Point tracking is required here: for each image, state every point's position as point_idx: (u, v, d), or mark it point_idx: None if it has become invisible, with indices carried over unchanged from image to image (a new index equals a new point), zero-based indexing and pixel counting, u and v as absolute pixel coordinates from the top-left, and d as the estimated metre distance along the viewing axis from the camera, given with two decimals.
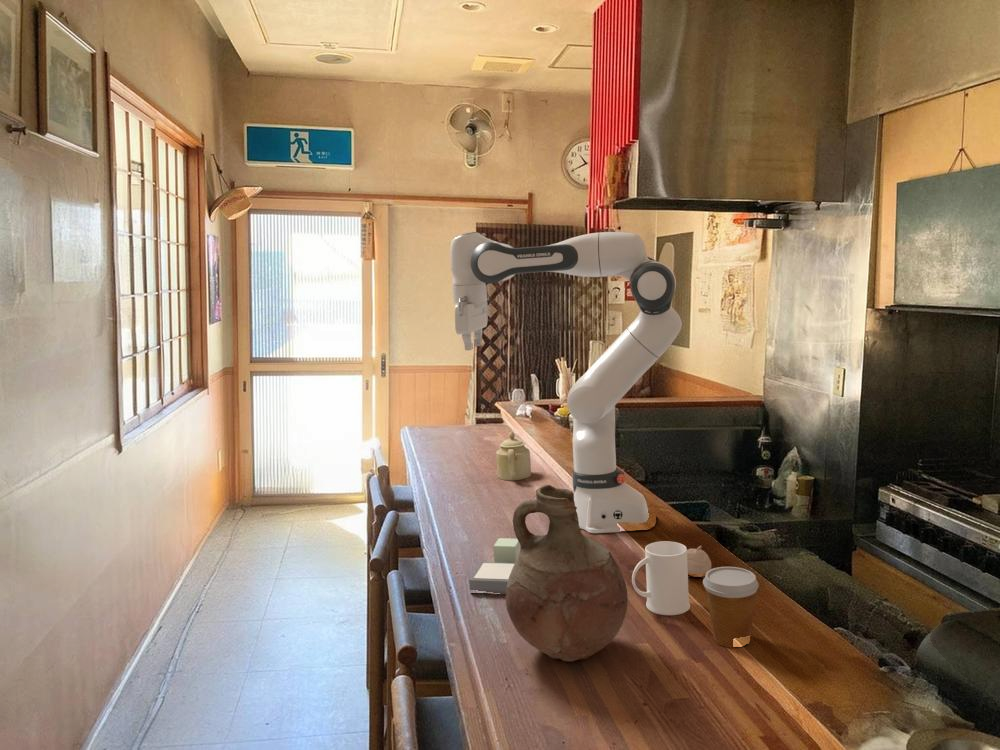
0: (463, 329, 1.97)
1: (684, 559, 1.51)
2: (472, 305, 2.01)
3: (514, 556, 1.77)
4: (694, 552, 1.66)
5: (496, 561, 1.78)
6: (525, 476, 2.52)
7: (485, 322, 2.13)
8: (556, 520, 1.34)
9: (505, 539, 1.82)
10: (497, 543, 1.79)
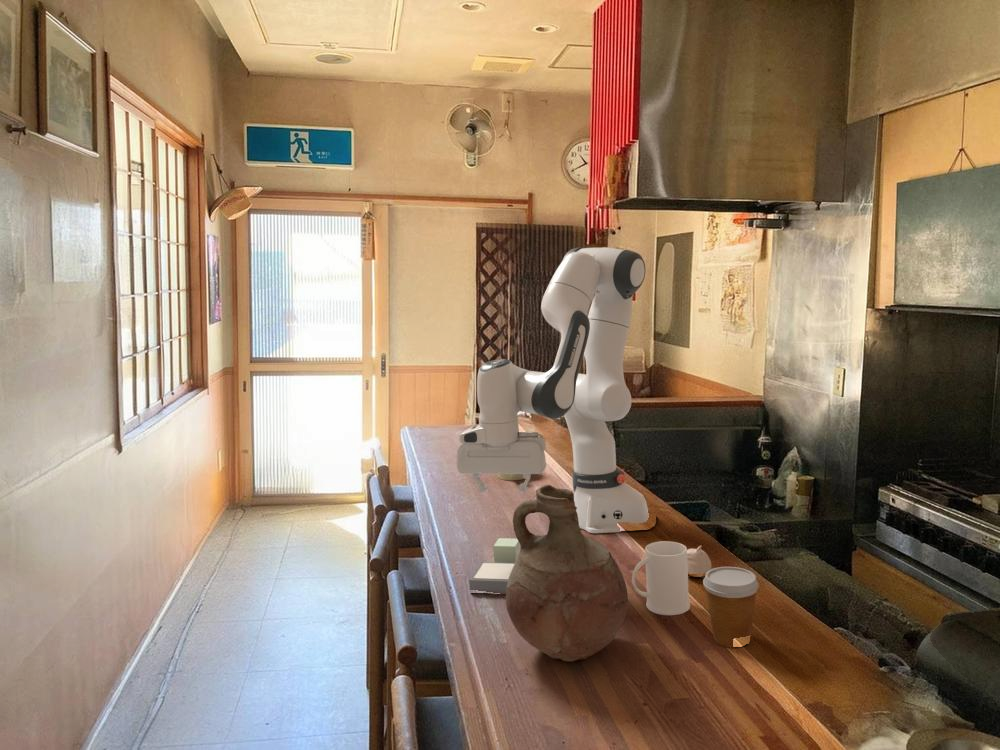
0: (545, 466, 1.75)
1: (684, 559, 1.51)
2: None
3: (514, 556, 1.77)
4: (694, 552, 1.66)
5: (496, 561, 1.78)
6: None
7: None
8: (556, 520, 1.34)
9: (505, 539, 1.82)
10: (497, 543, 1.79)
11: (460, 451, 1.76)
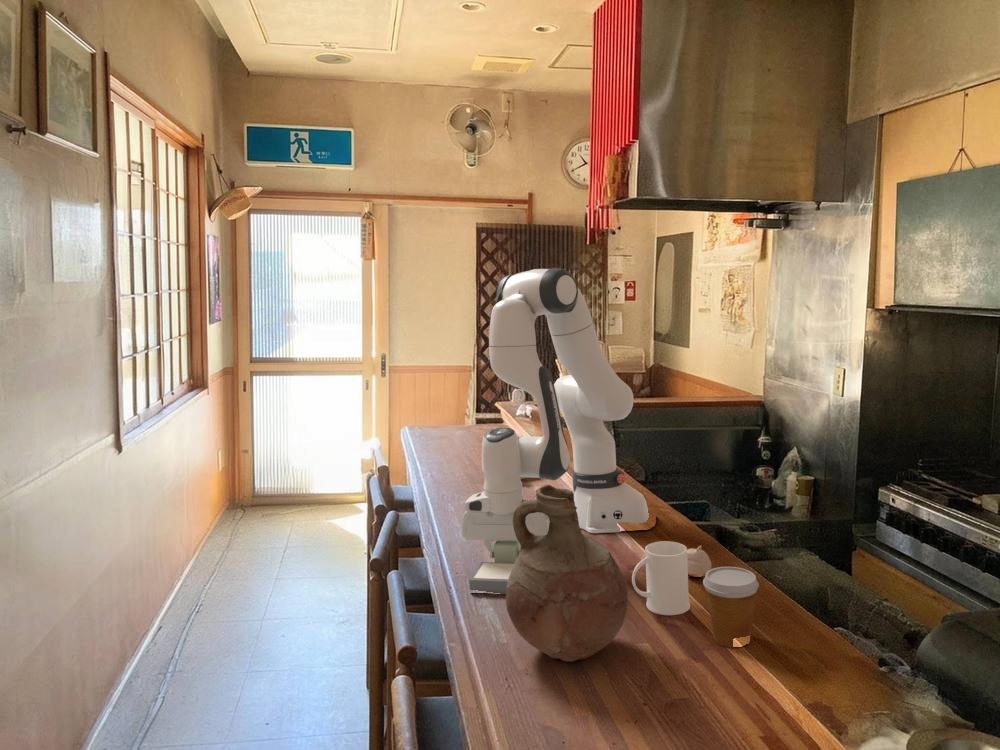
0: None
1: (684, 559, 1.51)
2: None
3: (514, 556, 1.77)
4: (694, 552, 1.66)
5: (496, 561, 1.78)
6: None
7: None
8: (556, 520, 1.34)
9: None
10: (497, 543, 1.79)
11: (465, 519, 1.78)
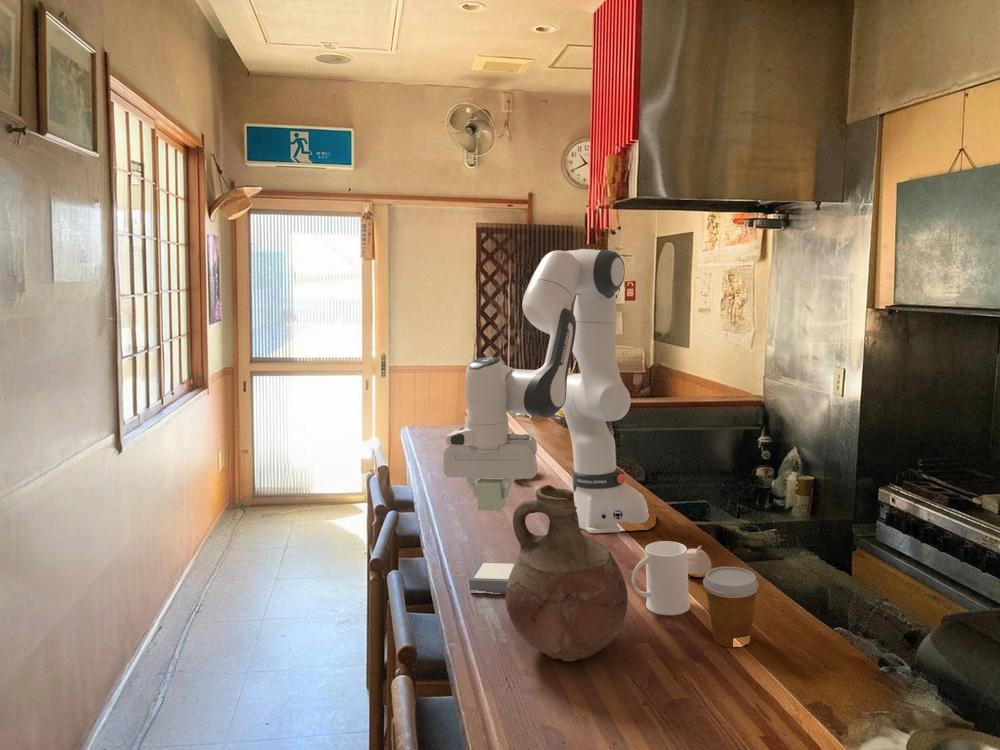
0: (536, 470, 1.65)
1: (684, 559, 1.51)
2: None
3: (498, 494, 1.65)
4: (694, 552, 1.66)
5: (479, 499, 1.66)
6: None
7: None
8: (556, 520, 1.34)
9: None
10: (481, 480, 1.67)
11: (447, 454, 1.67)
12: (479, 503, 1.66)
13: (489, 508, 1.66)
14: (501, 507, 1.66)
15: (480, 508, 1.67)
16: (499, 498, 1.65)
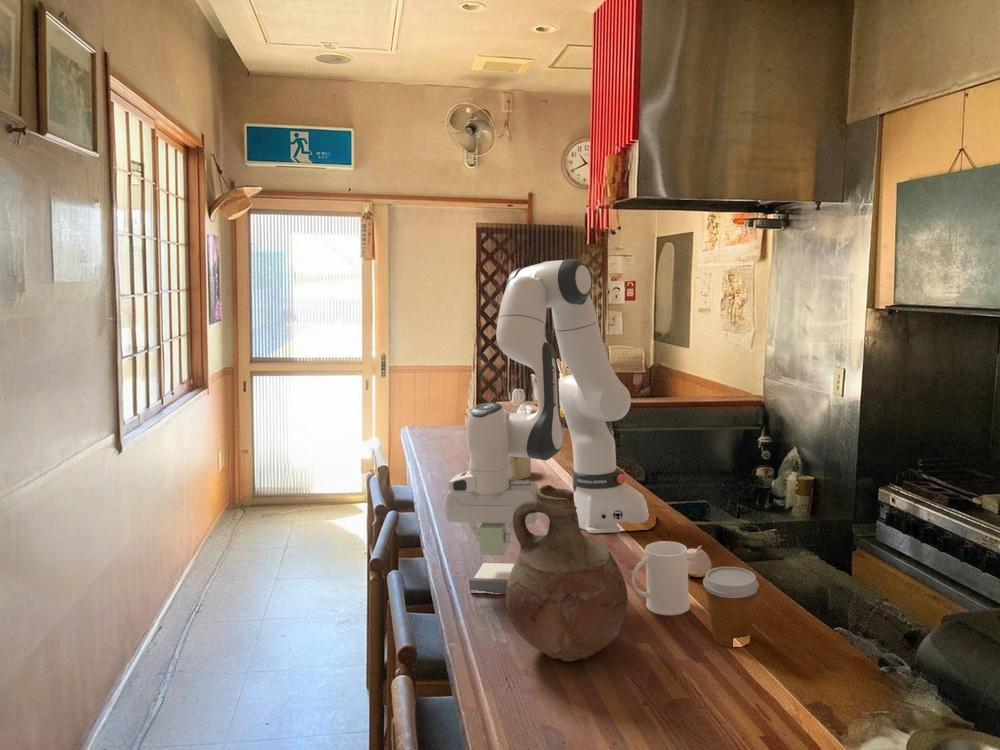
0: (538, 515, 1.67)
1: (684, 559, 1.51)
2: None
3: (500, 539, 1.66)
4: (694, 552, 1.66)
5: (481, 544, 1.67)
6: (525, 476, 2.52)
7: None
8: (556, 520, 1.34)
9: None
10: (483, 525, 1.69)
11: (449, 499, 1.68)
12: (481, 548, 1.68)
13: (491, 553, 1.67)
14: (503, 552, 1.67)
15: (482, 553, 1.68)
16: (501, 543, 1.66)
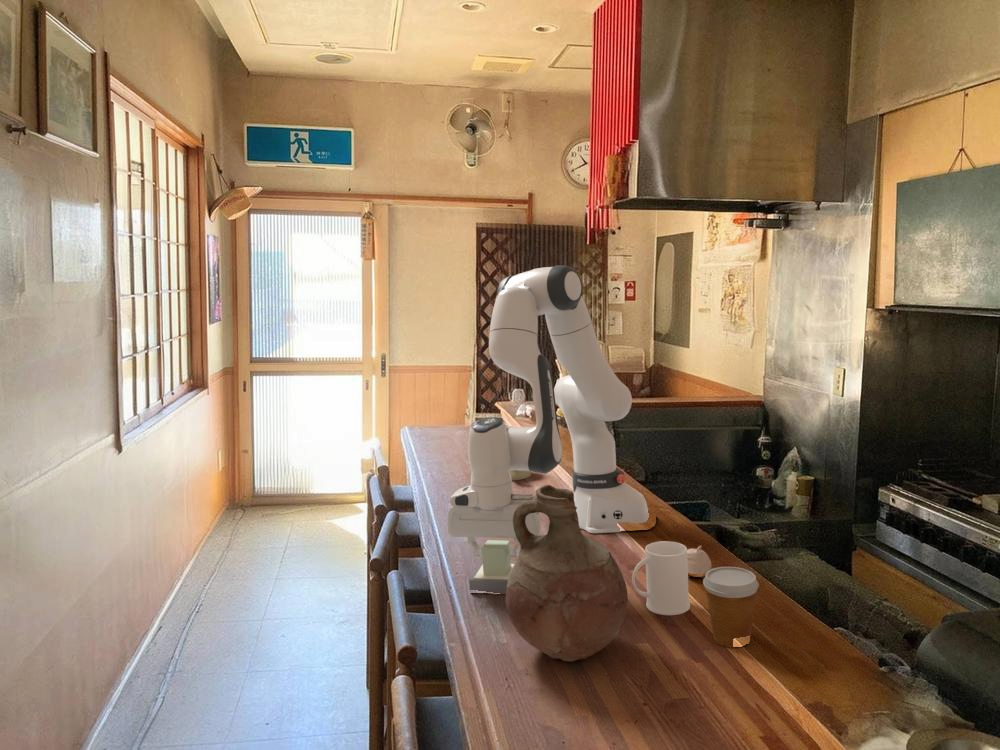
0: (540, 529, 1.67)
1: (684, 559, 1.51)
2: None
3: (503, 559, 1.67)
4: (694, 552, 1.66)
5: (484, 564, 1.68)
6: (525, 476, 2.52)
7: None
8: (556, 520, 1.34)
9: (494, 541, 1.71)
10: (486, 545, 1.69)
11: (451, 514, 1.68)
12: (484, 568, 1.68)
13: (494, 573, 1.68)
14: (506, 572, 1.68)
15: (485, 573, 1.68)
16: (504, 563, 1.67)
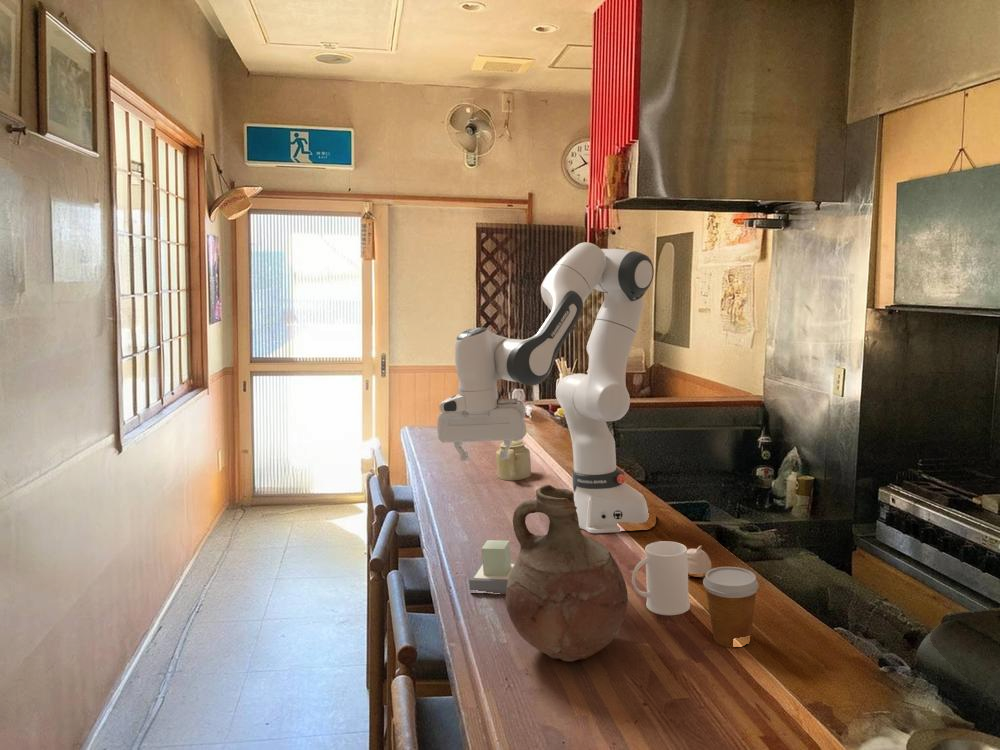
0: (525, 432, 1.76)
1: (684, 559, 1.51)
2: None
3: (503, 559, 1.67)
4: (694, 552, 1.66)
5: (484, 564, 1.68)
6: (525, 476, 2.52)
7: None
8: (556, 520, 1.34)
9: (494, 541, 1.71)
10: (486, 545, 1.69)
11: (441, 421, 1.77)
12: (484, 568, 1.68)
13: (494, 573, 1.68)
14: (506, 572, 1.68)
15: (485, 573, 1.68)
16: (504, 563, 1.67)
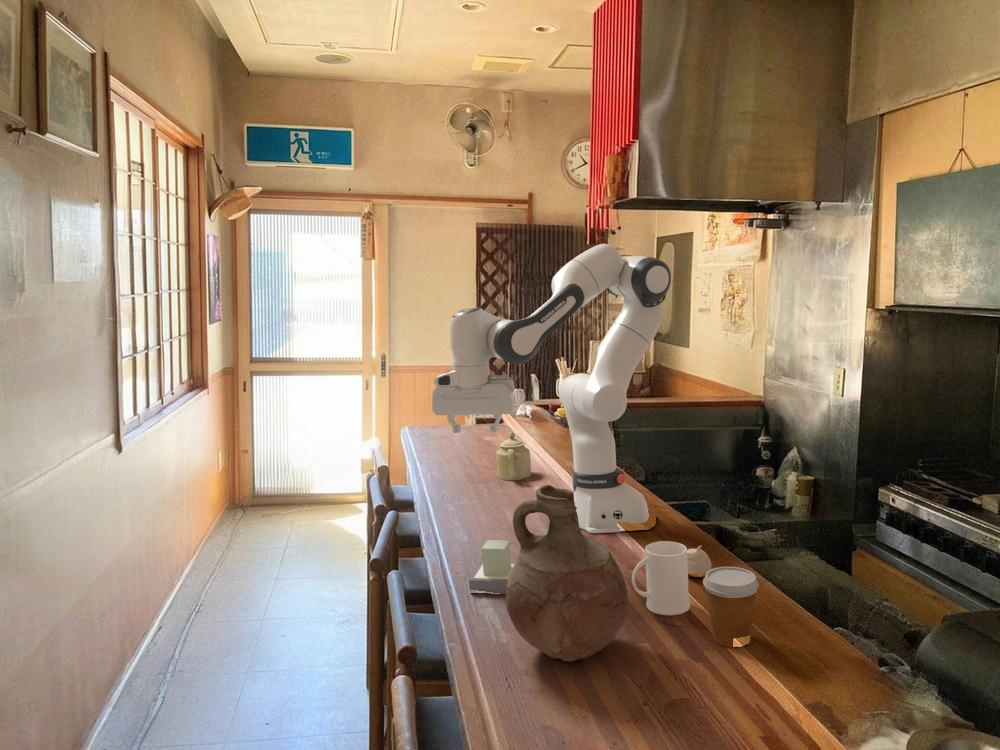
0: (514, 407, 1.87)
1: (684, 559, 1.51)
2: None
3: (503, 559, 1.67)
4: (694, 552, 1.66)
5: (484, 564, 1.68)
6: (525, 476, 2.52)
7: None
8: (556, 520, 1.34)
9: (494, 541, 1.71)
10: (486, 545, 1.69)
11: (435, 394, 1.88)
12: (484, 568, 1.68)
13: (494, 573, 1.68)
14: (506, 572, 1.68)
15: (485, 573, 1.68)
16: (504, 563, 1.67)
